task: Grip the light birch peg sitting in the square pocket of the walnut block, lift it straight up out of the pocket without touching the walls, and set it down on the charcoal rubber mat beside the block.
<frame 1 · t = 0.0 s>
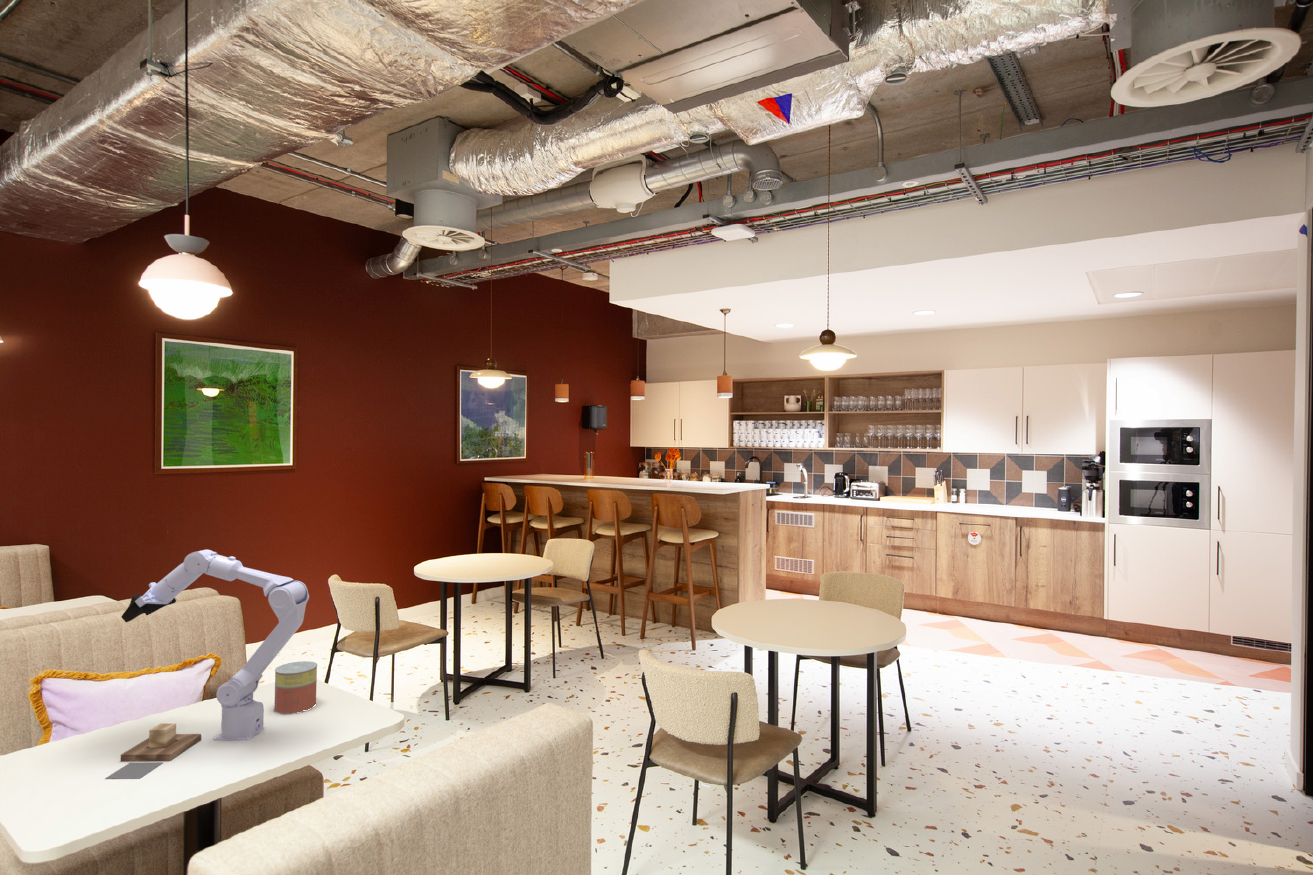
hand: (134, 615, 182), 32 cm above the table, tool tilted 50°, fingers open, 7 cm apart
birch peg: (162, 750, 172), resting on pocket block
rubber mat: (134, 772, 161), on the table
pocket block: (162, 751, 172), on the table
canned food: (295, 707, 203), on the table
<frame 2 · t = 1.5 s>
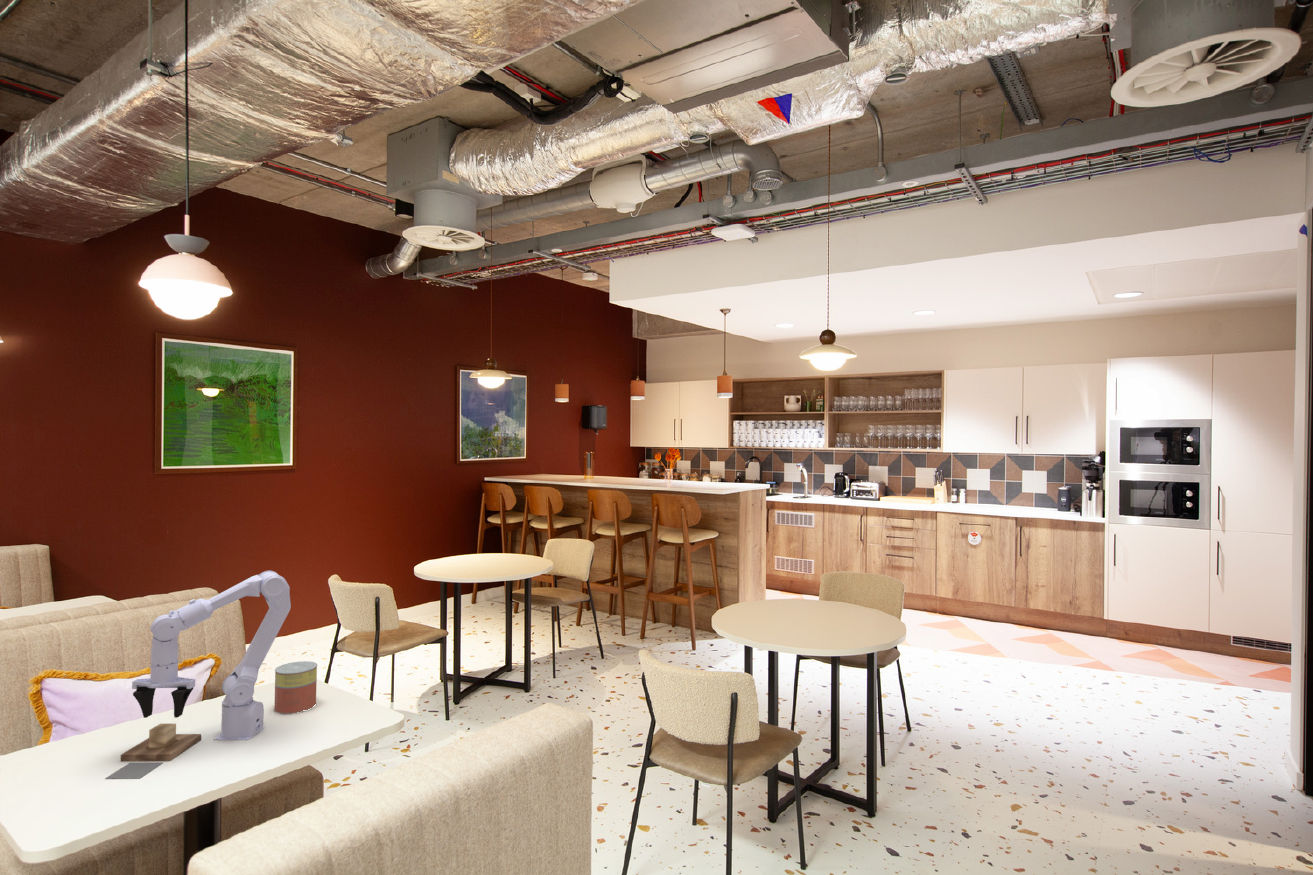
hand: (163, 716, 173), 9 cm above the table, tool pointing down, fingers open, 7 cm apart
nothing on the table moved.
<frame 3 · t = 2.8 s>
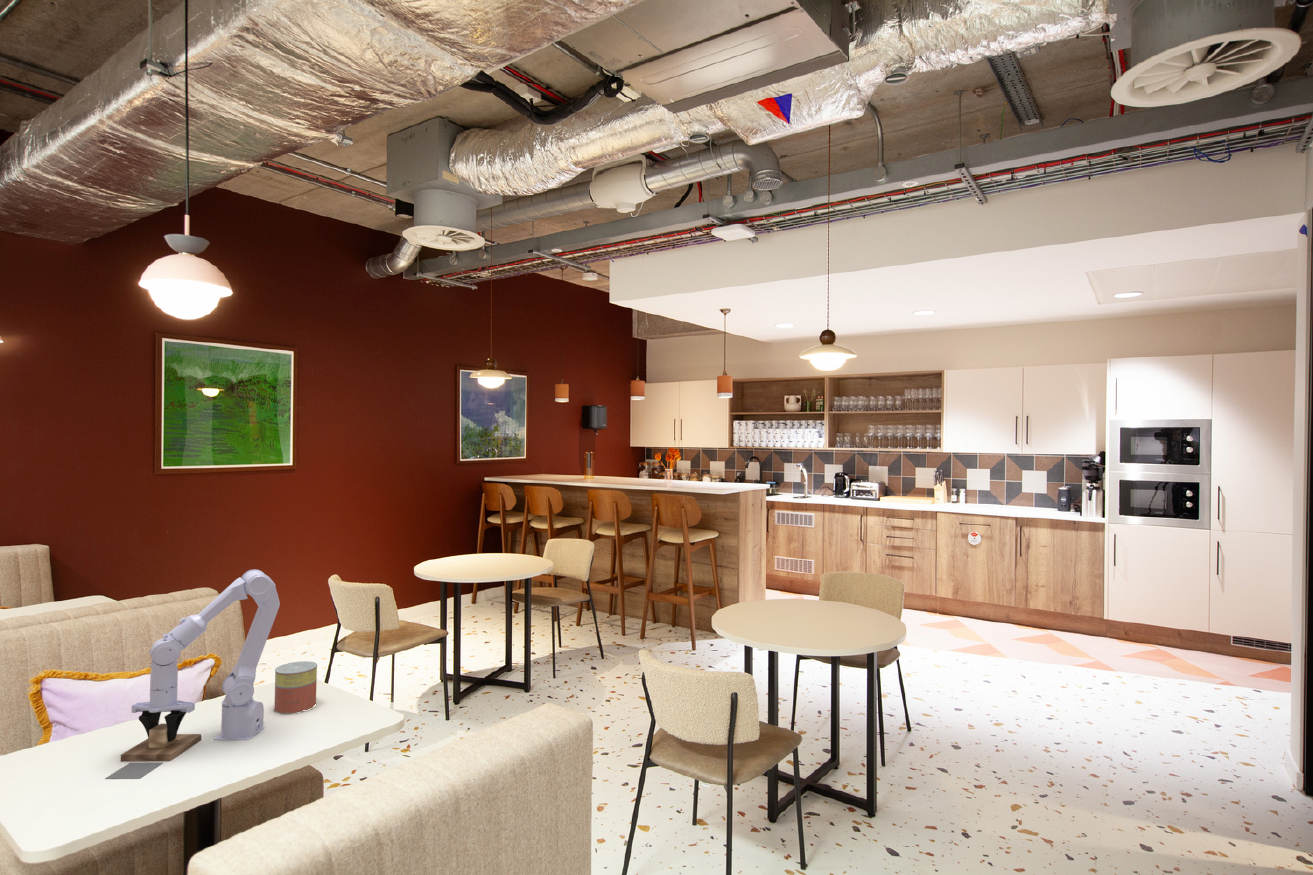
hand: (162, 739, 172), 3 cm above the table, tool pointing down, fingers closed on birch peg, 4 cm apart
birch peg: (162, 750, 172), resting on pocket block, touching gripper
everything else where it was.
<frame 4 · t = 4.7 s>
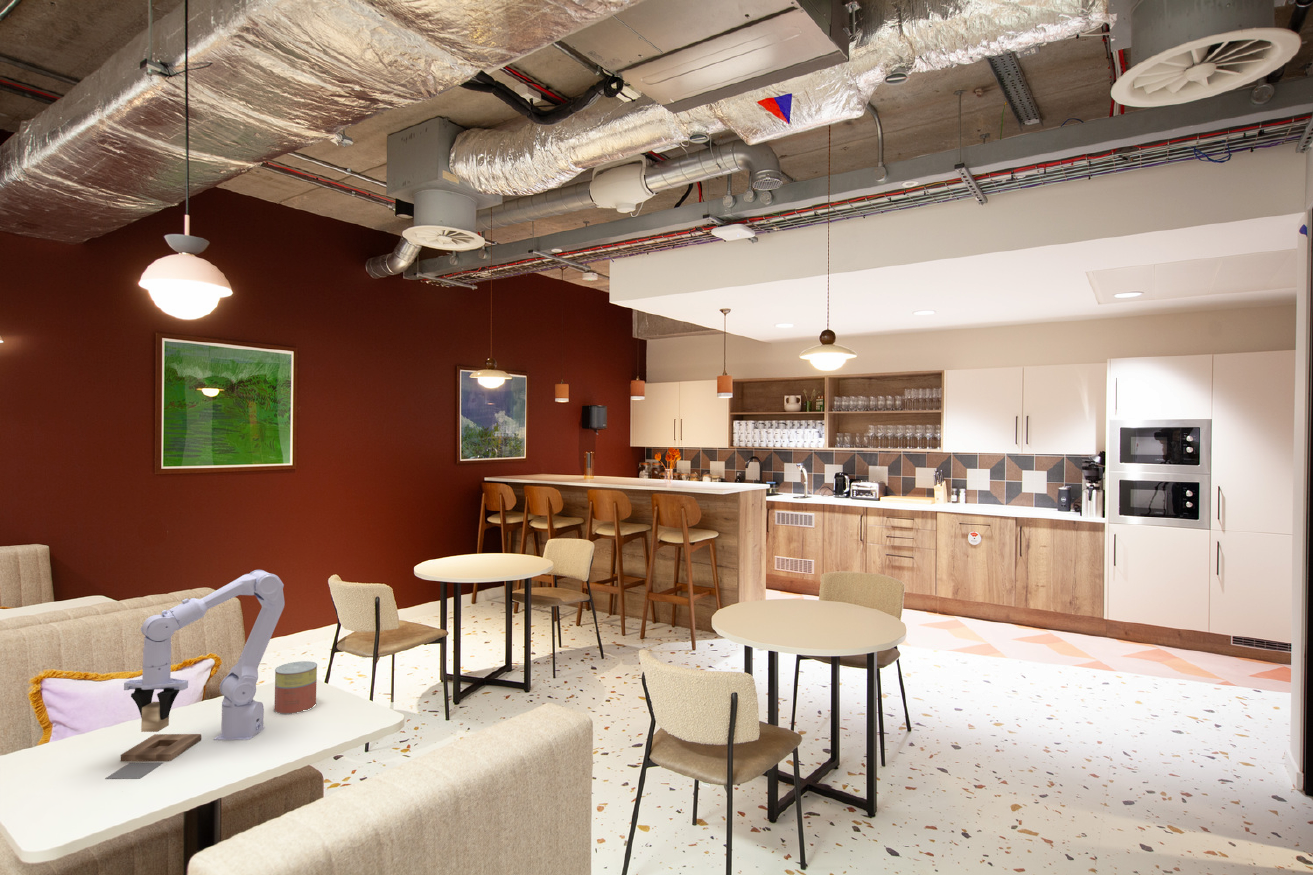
hand: (155, 718, 169), 10 cm above the table, tool pointing down, fingers closed on birch peg, 4 cm apart
birch peg: (155, 728, 169), point 7 cm above the table, touching gripper
everything else where it was.
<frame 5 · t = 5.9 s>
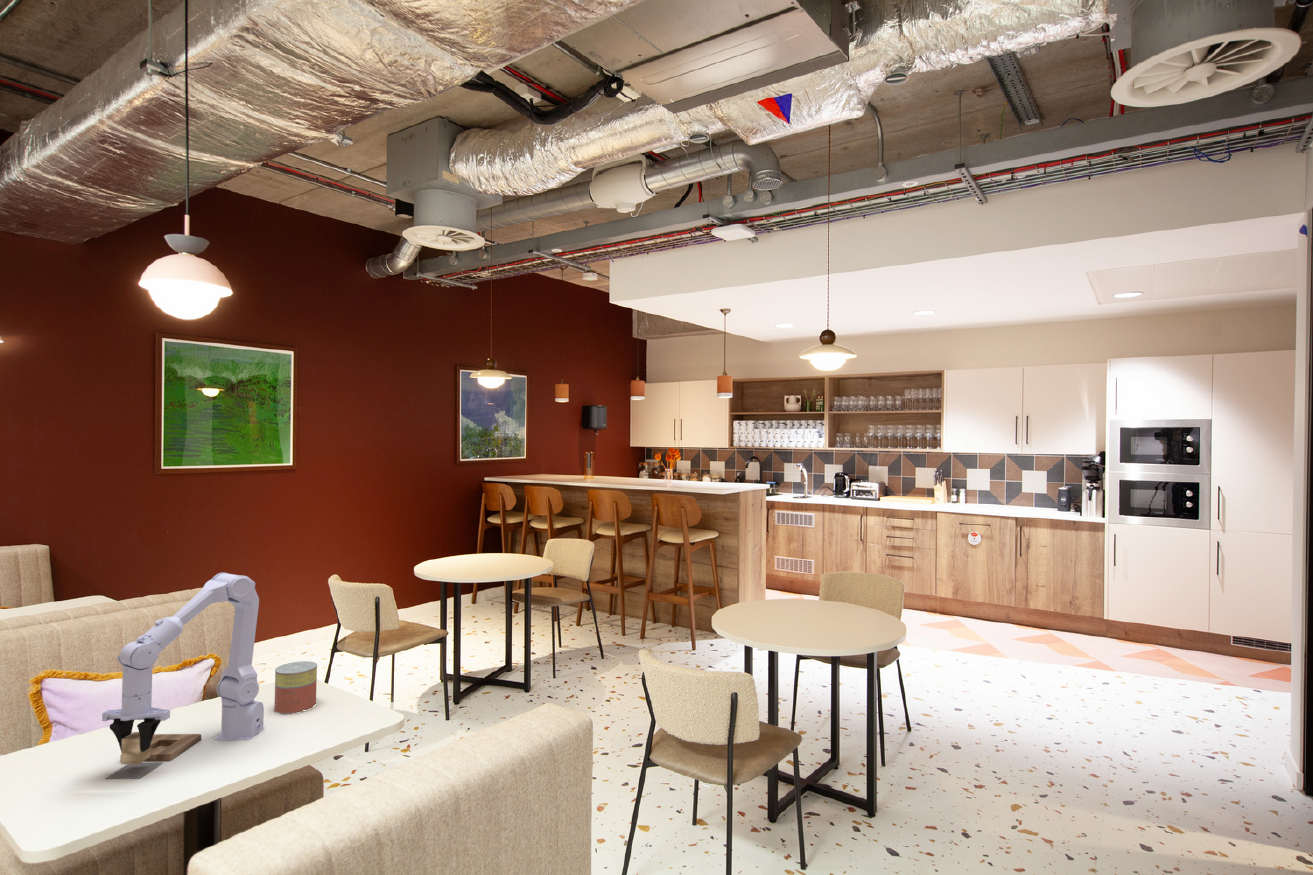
hand: (135, 749, 162), 5 cm above the table, tool pointing down, fingers closed on birch peg, 4 cm apart
birch peg: (135, 760, 162), point 3 cm above the table, touching gripper
everything else where it was.
when the fingers open (4 cm above the table, at t = 6.9 s): birch peg drops 1 cm, resting on rubber mat.
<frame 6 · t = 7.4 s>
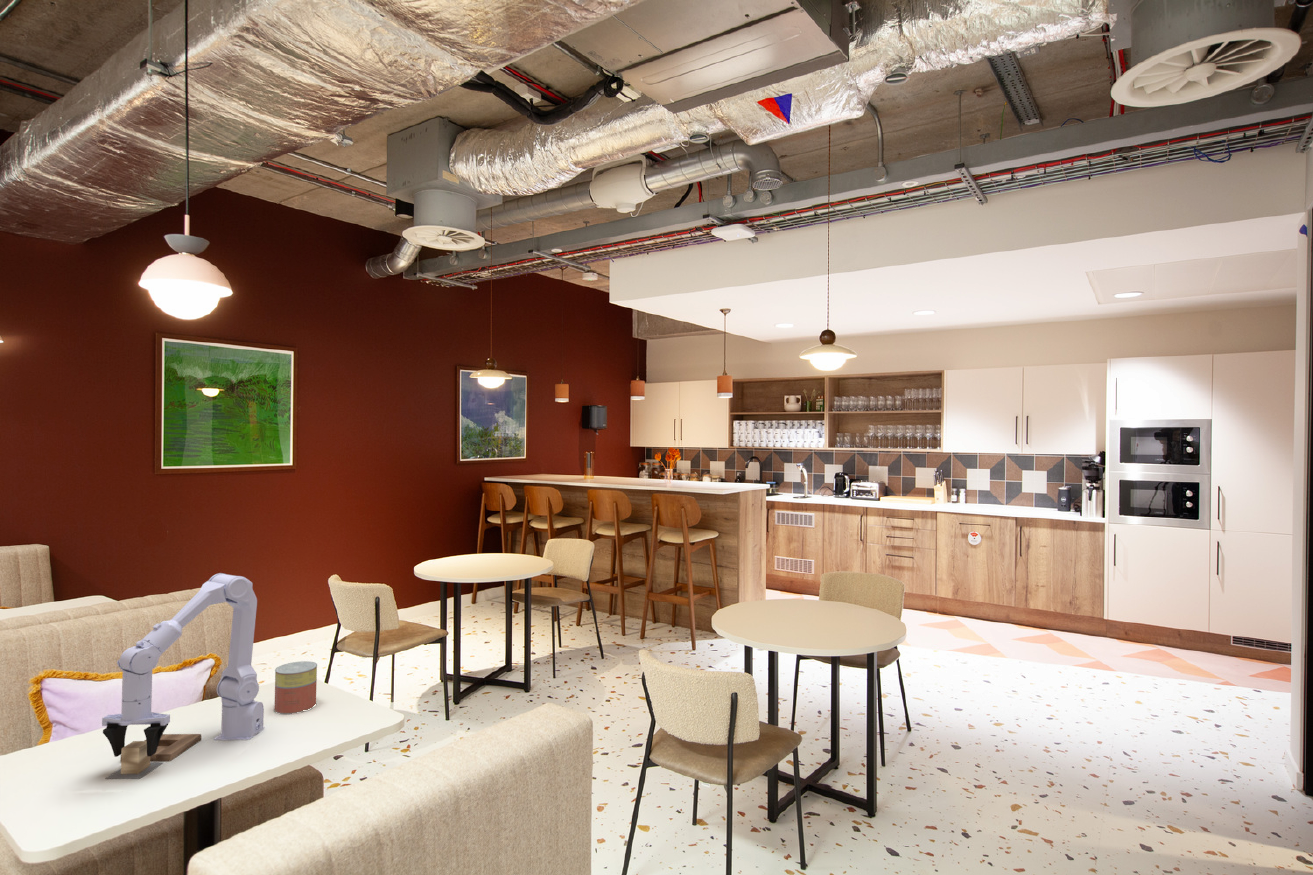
hand: (135, 754, 162), 4 cm above the table, tool pointing down, fingers open, 7 cm apart
birch peg: (135, 769, 162), resting on rubber mat
everything else where it was.
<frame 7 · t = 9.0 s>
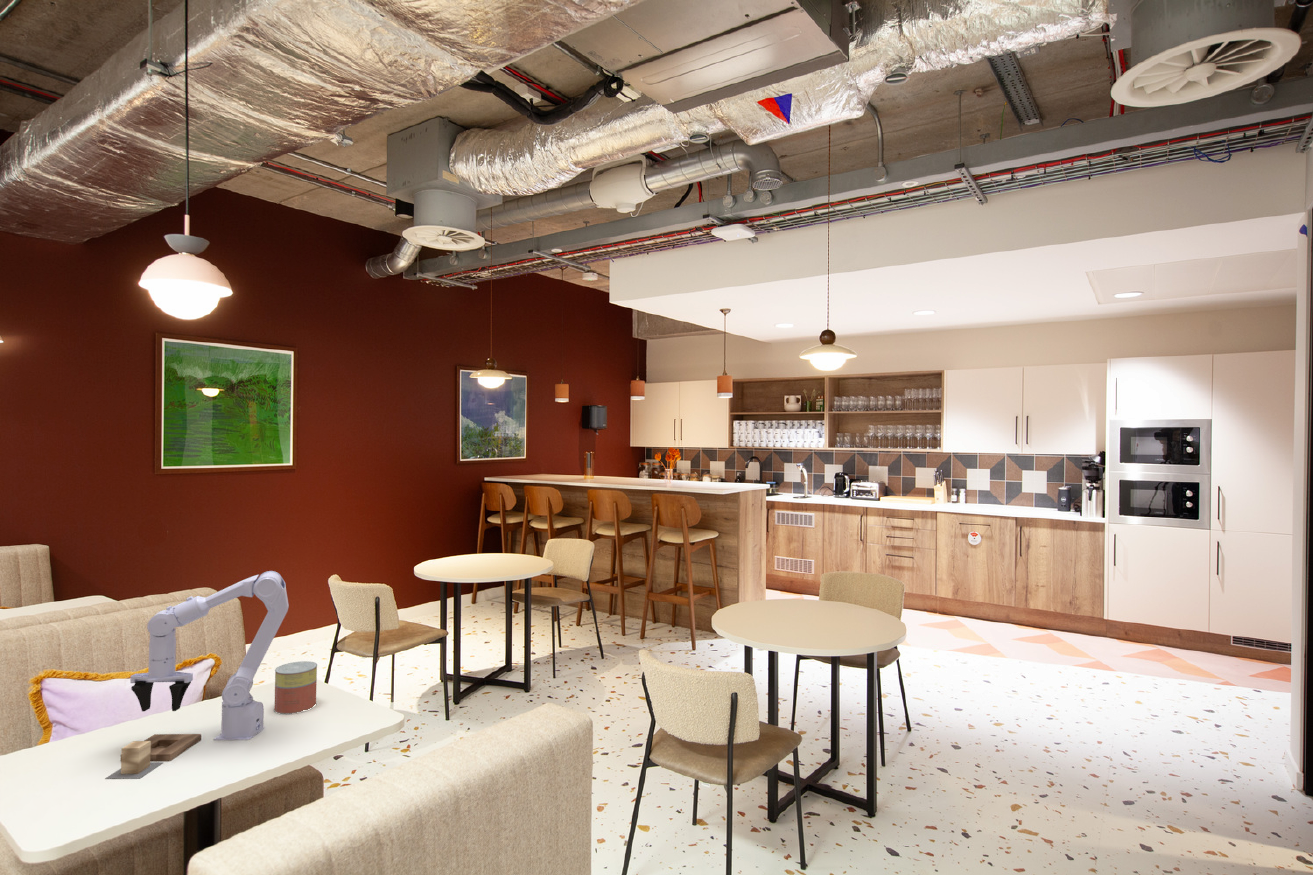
hand: (161, 709, 176), 9 cm above the table, tool pointing down, fingers open, 7 cm apart
nothing on the table moved.
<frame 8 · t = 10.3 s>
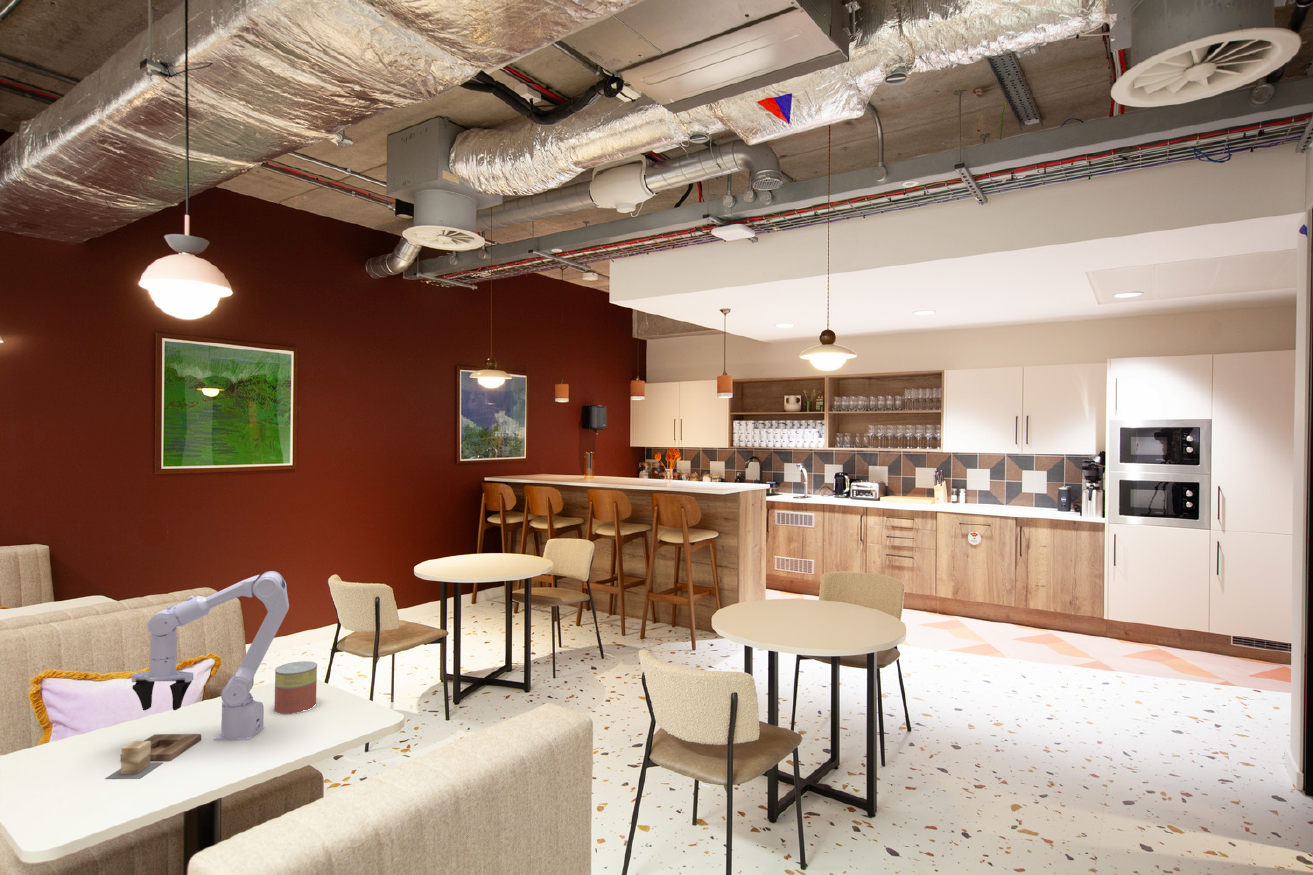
hand: (161, 708, 176), 9 cm above the table, tool pointing down, fingers open, 7 cm apart
nothing on the table moved.
at the end: birch peg 0.2 cm off-centre on the rubber mat, point 0.5 cm above the rubber mat's base; birch peg tilted 0°; birch peg touching rubber mat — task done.
